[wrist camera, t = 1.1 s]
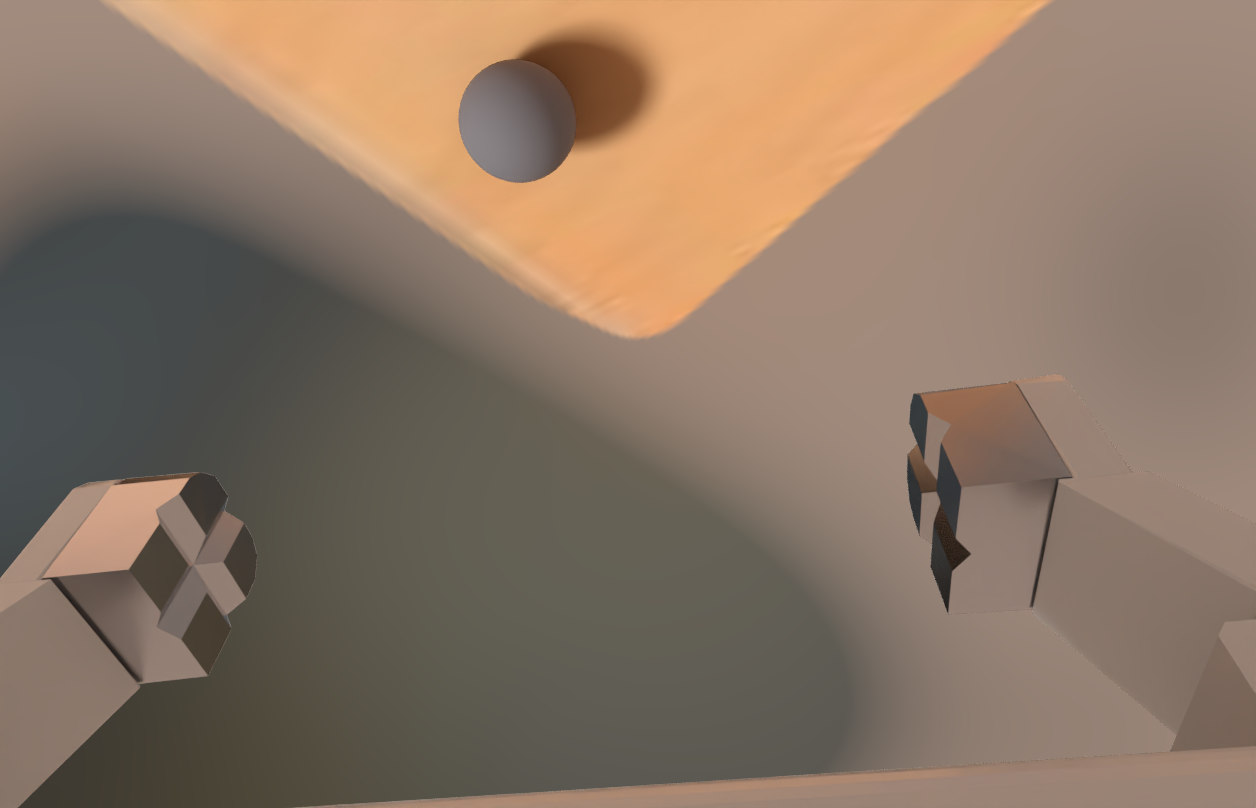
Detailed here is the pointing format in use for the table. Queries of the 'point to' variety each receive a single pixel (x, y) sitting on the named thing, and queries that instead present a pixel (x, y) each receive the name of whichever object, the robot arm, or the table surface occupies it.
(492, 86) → the grey ball
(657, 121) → the table surface
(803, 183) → the table surface
